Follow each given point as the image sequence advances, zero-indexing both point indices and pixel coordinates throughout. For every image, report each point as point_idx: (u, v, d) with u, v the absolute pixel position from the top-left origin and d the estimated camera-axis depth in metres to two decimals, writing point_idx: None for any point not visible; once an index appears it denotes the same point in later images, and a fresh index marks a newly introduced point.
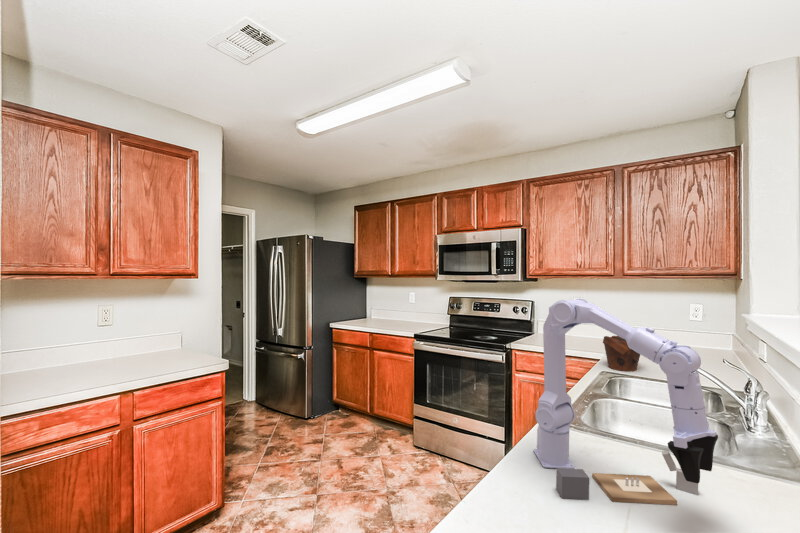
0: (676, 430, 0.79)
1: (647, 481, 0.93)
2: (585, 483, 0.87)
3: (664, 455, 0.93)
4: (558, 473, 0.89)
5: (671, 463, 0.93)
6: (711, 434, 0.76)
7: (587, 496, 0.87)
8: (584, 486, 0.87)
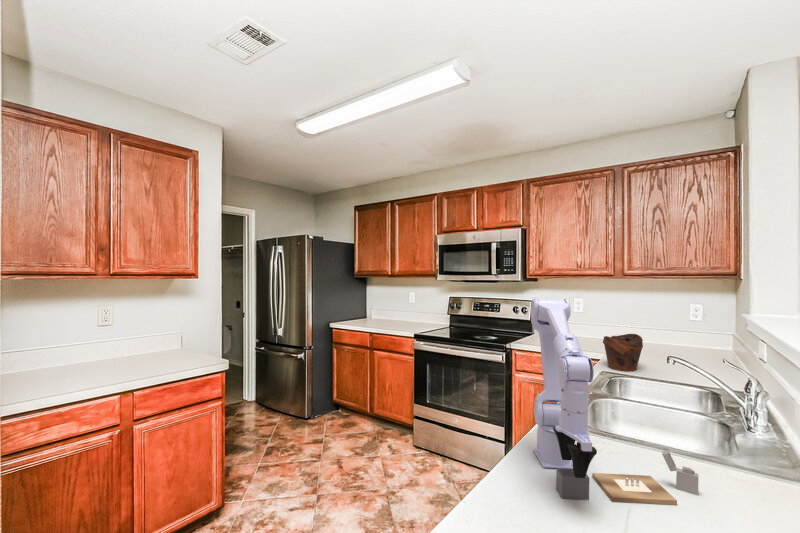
0: None
1: (647, 481, 0.93)
2: (585, 483, 0.87)
3: (664, 455, 0.93)
4: (558, 473, 0.89)
5: (671, 463, 0.93)
6: None
7: (587, 496, 0.87)
8: (584, 486, 0.87)
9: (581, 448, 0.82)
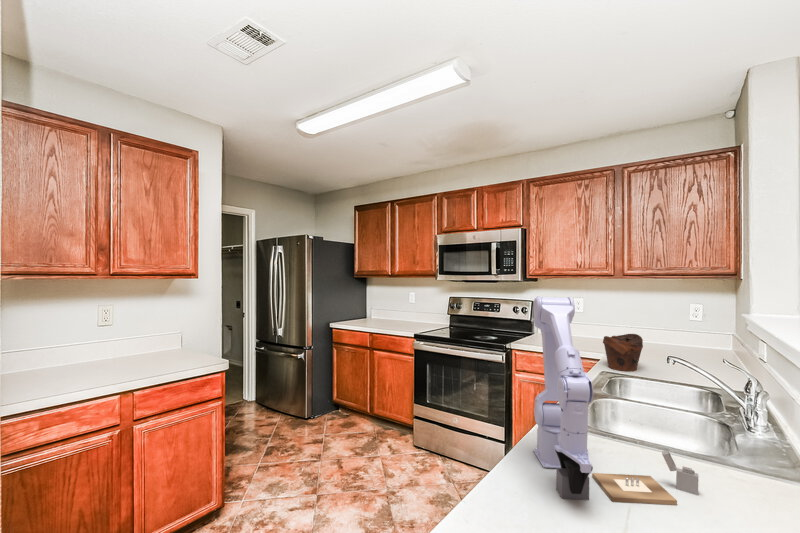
0: None
1: (647, 481, 0.93)
2: (585, 483, 0.87)
3: (664, 455, 0.93)
4: (558, 473, 0.89)
5: (671, 463, 0.93)
6: None
7: (587, 496, 0.87)
8: (584, 486, 0.87)
9: (580, 469, 0.82)
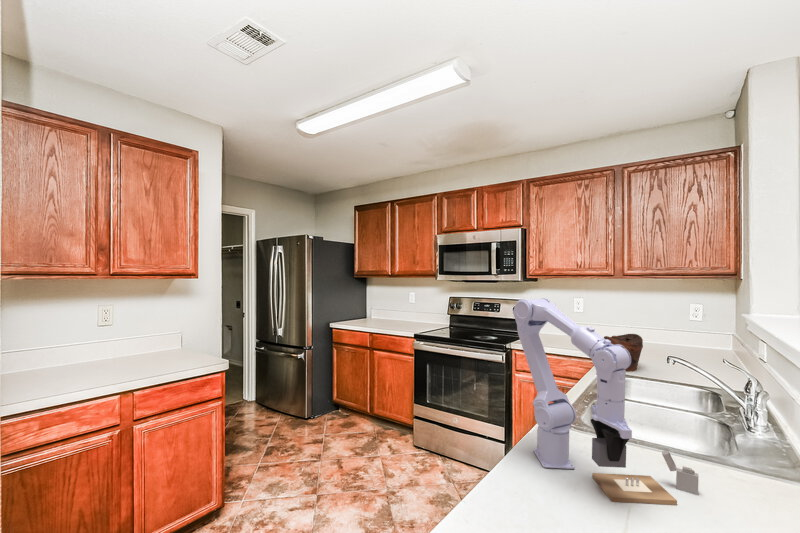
0: None
1: (647, 481, 0.93)
2: (622, 451, 0.88)
3: (664, 455, 0.93)
4: (594, 442, 0.91)
5: (671, 463, 0.93)
6: None
7: (624, 464, 0.88)
8: (621, 454, 0.88)
9: (621, 436, 0.83)
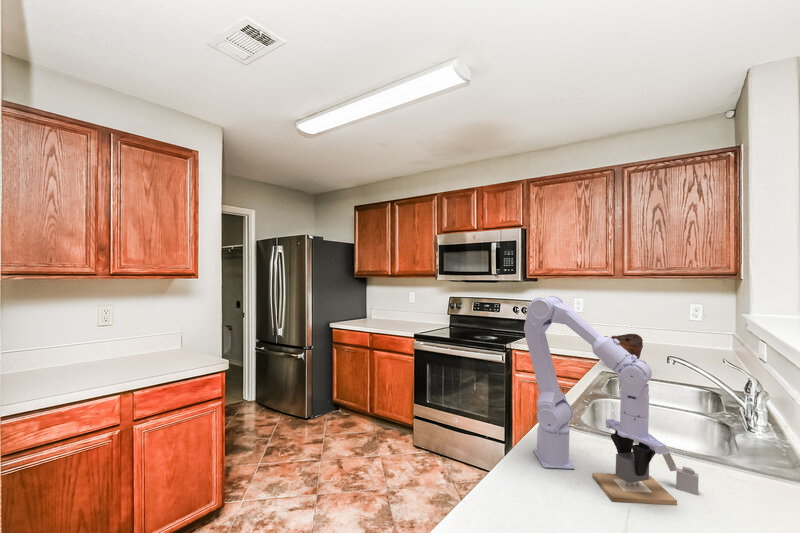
0: None
1: (647, 481, 0.93)
2: None
3: (664, 455, 0.93)
4: (620, 459, 0.90)
5: (671, 463, 0.93)
6: None
7: (647, 476, 0.90)
8: None
9: (656, 451, 0.84)
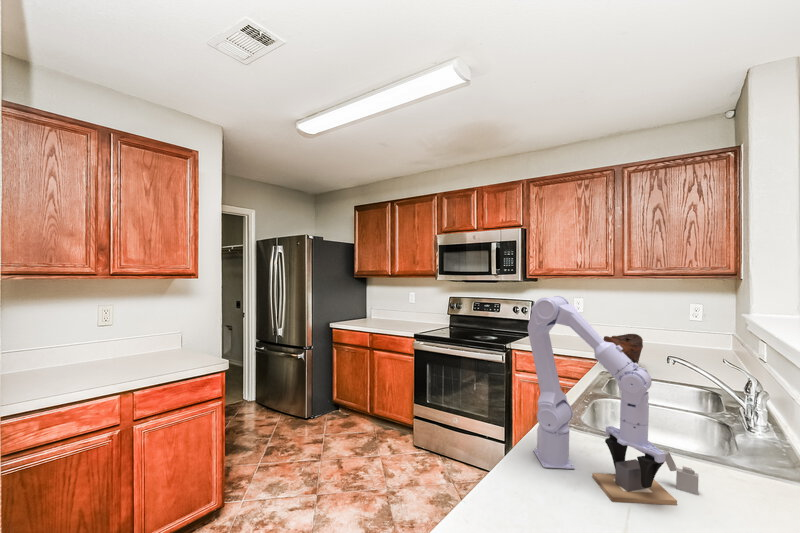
0: None
1: None
2: None
3: None
4: (620, 467, 0.90)
5: (671, 463, 0.93)
6: None
7: None
8: None
9: (656, 460, 0.84)
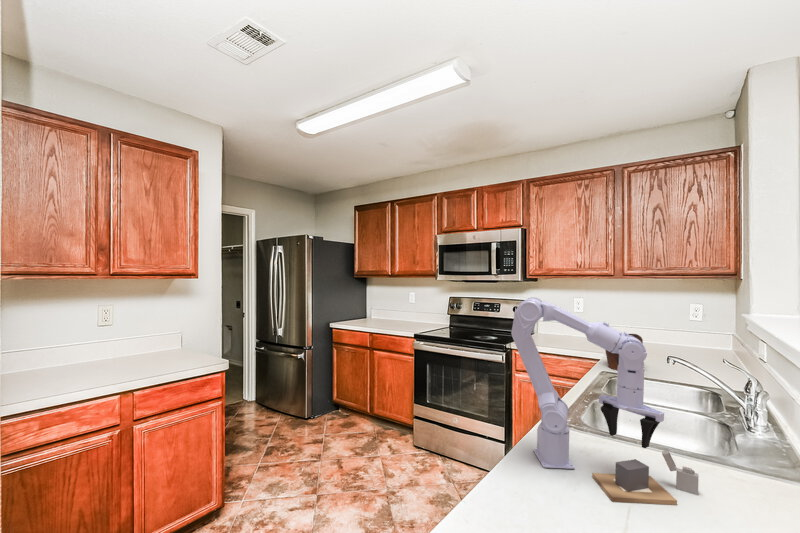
0: None
1: None
2: (645, 472, 0.90)
3: (664, 455, 0.93)
4: (620, 467, 0.90)
5: (671, 463, 0.93)
6: (617, 406, 0.95)
7: (647, 485, 0.90)
8: (645, 476, 0.90)
9: (657, 420, 0.90)
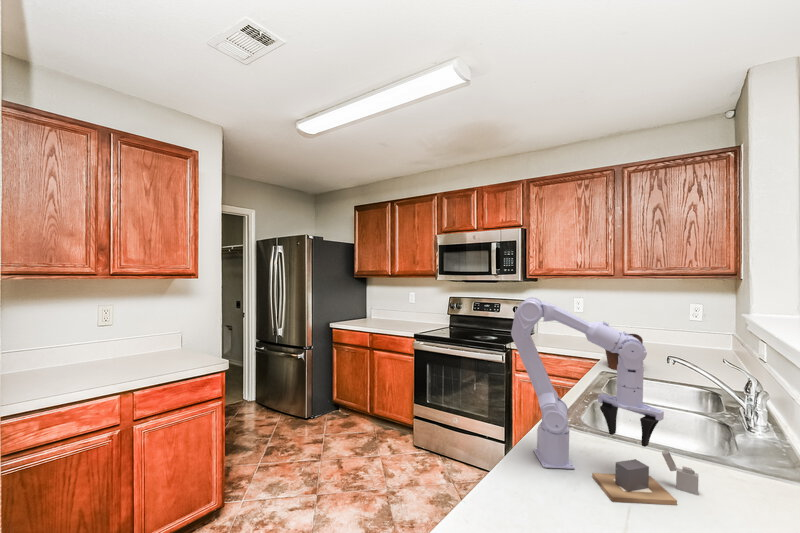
0: None
1: None
2: (645, 472, 0.90)
3: (664, 455, 0.93)
4: (620, 467, 0.90)
5: (671, 463, 0.93)
6: (618, 405, 0.95)
7: (647, 485, 0.90)
8: (645, 476, 0.90)
9: (657, 418, 0.91)
